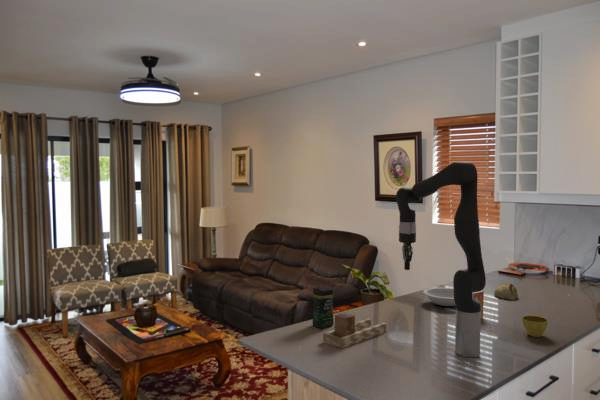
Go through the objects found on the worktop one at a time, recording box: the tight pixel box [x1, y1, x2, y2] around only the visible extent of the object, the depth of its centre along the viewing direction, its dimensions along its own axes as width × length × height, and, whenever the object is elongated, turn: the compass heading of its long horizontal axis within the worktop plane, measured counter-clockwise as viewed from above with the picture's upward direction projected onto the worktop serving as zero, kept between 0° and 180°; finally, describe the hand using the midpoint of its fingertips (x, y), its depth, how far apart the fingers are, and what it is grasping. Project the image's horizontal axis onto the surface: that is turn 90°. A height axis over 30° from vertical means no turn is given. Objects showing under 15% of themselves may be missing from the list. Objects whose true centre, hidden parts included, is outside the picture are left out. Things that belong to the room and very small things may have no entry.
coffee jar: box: [312, 284, 335, 329], centre depth 219 cm, size 10×8×19 cm
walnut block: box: [334, 312, 356, 338], centre depth 199 cm, size 6×6×10 cm
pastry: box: [494, 283, 519, 301], centre depth 270 cm, size 14×12×8 cm
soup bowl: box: [423, 287, 456, 307], centre depth 254 cm, size 24×24×7 cm
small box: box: [472, 290, 485, 318], centre depth 232 cm, size 8×6×13 cm
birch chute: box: [322, 318, 387, 349], centre depth 204 cm, size 30×10×4 cm, turn 133°
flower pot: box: [521, 315, 549, 338], centre depth 205 cm, size 10×10×7 cm
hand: (407, 269), depth 214 cm, fingers closed
